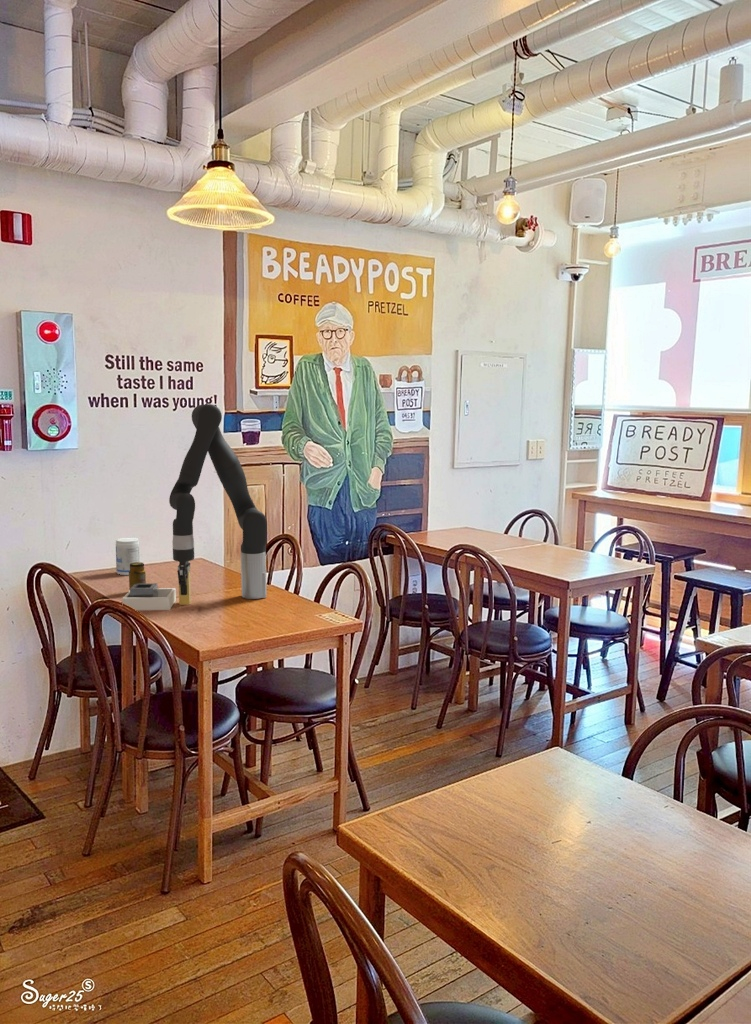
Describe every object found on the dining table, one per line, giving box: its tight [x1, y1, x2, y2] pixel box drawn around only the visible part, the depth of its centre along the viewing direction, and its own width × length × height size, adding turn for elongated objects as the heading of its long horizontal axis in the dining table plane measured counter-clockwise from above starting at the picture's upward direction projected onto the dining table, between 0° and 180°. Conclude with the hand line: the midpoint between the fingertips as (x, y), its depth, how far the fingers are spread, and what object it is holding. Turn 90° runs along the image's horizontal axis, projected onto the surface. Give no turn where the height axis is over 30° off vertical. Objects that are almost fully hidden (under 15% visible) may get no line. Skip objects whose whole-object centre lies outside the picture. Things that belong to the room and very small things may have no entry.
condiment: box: [128, 561, 147, 592], centre depth 308 cm, size 7×8×12 cm
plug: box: [178, 570, 192, 606], centre depth 293 cm, size 4×4×12 cm
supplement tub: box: [115, 537, 141, 576], centre depth 343 cm, size 10×10×15 cm
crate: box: [122, 587, 177, 611], centre depth 291 cm, size 16×14×5 cm
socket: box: [130, 582, 158, 597], centre depth 291 cm, size 8×8×7 cm
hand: (184, 593), depth 294 cm, fingers closed on plug, 3 cm apart
